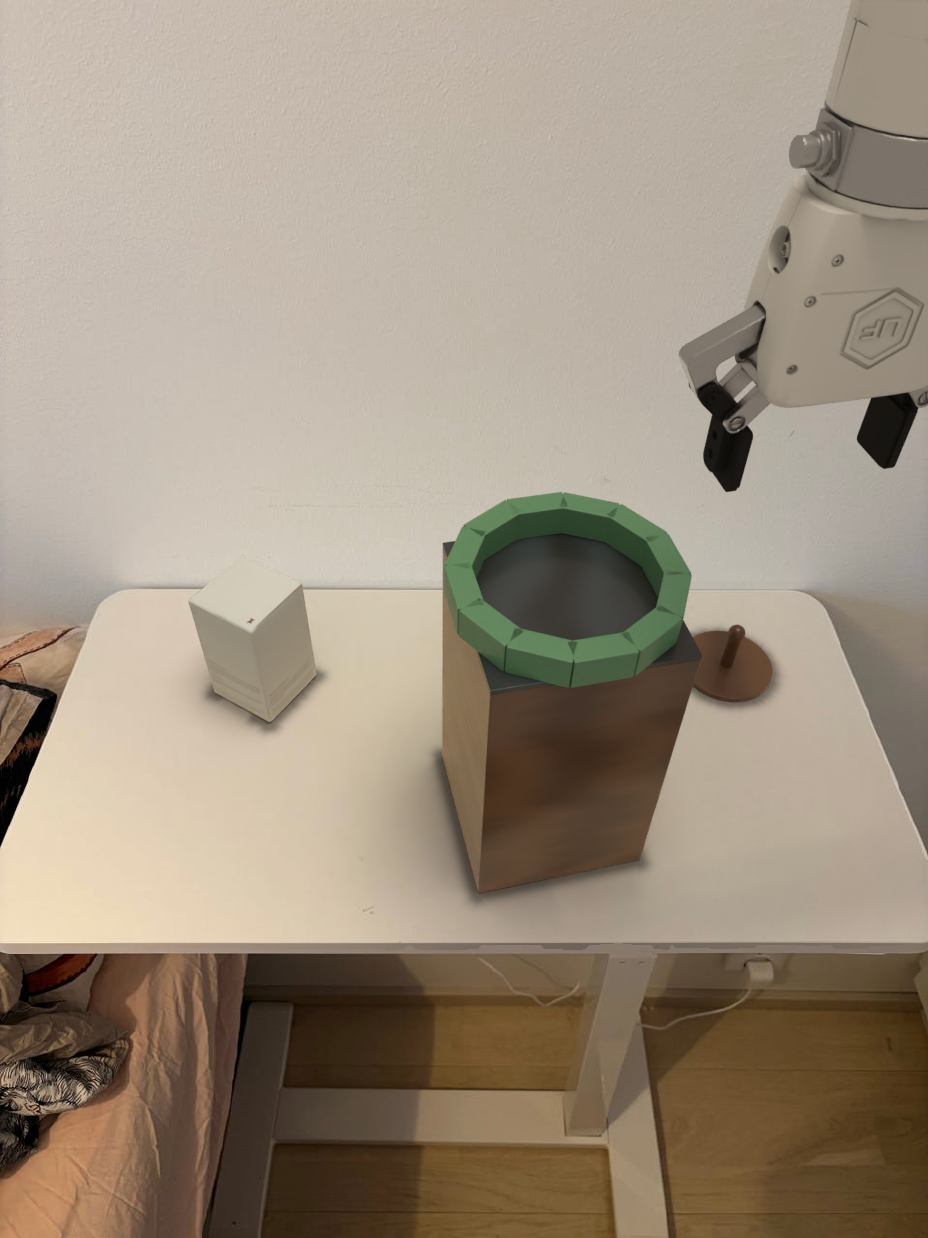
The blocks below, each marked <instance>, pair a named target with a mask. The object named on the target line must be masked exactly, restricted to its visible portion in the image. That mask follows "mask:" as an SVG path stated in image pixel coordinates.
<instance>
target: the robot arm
mask: <svg viewBox="0 0 928 1238" xmlns="http://www.w3.org/2000/svg"><path fill="white" fill-rule="evenodd" d="M831 72H832V73H831V76H830V80H829V83H828V87H827V91H826V95H825V100H824V103H823V107H822V108H820V110H819V113H818V117H817V121H816V125H815V128H814V130H812V131H809V133H808V134H798V135H795V136H794V137H793V139H792V141H791V142H790V146H789V151H788V160H789V164H790V166H791V167H792V168H793V169H795V170H797V169H805V170H806V172H805V174H803V175H798V176H796V177H794V178H793V180H792V182H791V184H790V186H789V188H788V189H787V192H786V194H785V196H784V198H783V200H782V202H781V204H780V206H779V209H778V211H777V214H776V216H775V218H774V220H773V223H772V225H771V227H770V230H769V232H768V235H767V238H766V241H765V242H764V245H763V248H762V251H761V254H760V256H759V260H758V262H757V265H756V268H755V271H754V274H753V277H752V280H751V283H750V285H749V290H748V291H747V292H748V293H747V296H746V298H745V303H744V306H743V310H742V312H739V314H737V315H735V316H733V317H731V318H730V319H728V320H725V322H722V323H721V324H718V325H717V326H715V327H714V328H712V329H710V330H708V331H706V332H705V333H703V334H701V335H699V336H698V337H696V338H694V339H692V340H691V341H689V342H687V343H685V344H684V345H683V346H682V347H681V348H680V349H679V351H678V358H679V362H680V364H681V367H682V369H683V372H684V374H685V378H686V379H687V382H688V388H689V389H690V390H691V391H692V393H693V394H694V396H695V397H696V398H697V400H698V401H699V403H700V404H701V406H703V407H704V408H705V409H706V410H707V411H708V412H709V414H711V416H710V417H711V418H710V422H709V425H708V430H707V435H706V439H705V443H704V447H703V452H702V459H703V463H704V465H705V467H706V469H707V470H708V471H709V473H712V474H713V476H714V477H715V479H716V480H717V482H718V483H719V485H720V486H721V488H722V490H724V492H725V493H731V492H736V491H737V490H738V489H739V488H740V487H741V483H742V479H743V477H744V473H745V469H746V466H747V462H748V458H749V454H750V451H751V448H752V444H753V440H754V432H753V430H752V429H751V428H750V427H749V424H750V423H752V422H753V421H754V420H755V419H756V418H757V417H758V416H759V415H760V414H761V413H762V412H763V411H764V410H765V409H766V408H768V406H769V405H770V404H771V405H773V406H775V407H779V408H787V409H789V408H790V409H792V408H804V407H812V406H820V405H829V404H836V403H844V402H851V401H859V400H865V399H867V400H868V399H870V400H869V402H868V405H867V407H866V410H865V414H864V416H863V419H862V421H861V424H860V427H859V429H858V432H857V435H856V441H857V443H858V444H859V446H860V447H861V448H862V449H863V450H864V451H865V452H866V453H867V454H868V456H869V457H870V458H871V459H872V460H873V461H874V462H875V463H876V465H877V466H878V467H880V468H881V469H882V470H888V469H893V468H895V467H896V465H897V462H898V460H899V458H900V456H901V452H902V451H903V448H904V446H905V444H906V441H907V439H908V436H909V434H910V432H911V429H912V427H913V424H914V422H915V419H916V417H917V414H918V412H919V411H918V410H919V409H924V408H926V407H928V0H850V4H849V8H848V11H847V16H846V19H845V23H844V27H843V30H842V35H841V38H840V42H839V45H838V49H837V52H836V57H835V60H834V64H833V68H832V71H831ZM732 357H733V358H734V361H735V363H736V364H735V365H734V366H733V367H732V368H731V369H729V371H727V373H726V374H724V376H722V378H721V379H720V380H718V376H717V369H718V368H719V366H720V365H721V364H722V363H724V362H725V361H727V360H729V359H731V358H732ZM752 382H753V383H754V384H755V385H754V386H753V387H752V388H751V389H750V390H749V391H748V392H747V393H746V394H744V395H743V397H742V398H741V399H740V400H739V401H736V400H735V398H736V397H738V395H739V394H740V393H742V391H744V390H745V388H747V387H748V385H749V384H751V383H752Z"/></svg>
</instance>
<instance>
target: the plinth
mask: <svg viewBox="0 0 928 1238" xmlns="http://www.w3.org/2000/svg"><path fill="white" fill-rule="evenodd" d="M455 541H456V540H451V541H444V542H442V652H441V653H442V656H441V657H442V658H441V659H442V661H441V662H442V671H441V672H442V677H441V679H442V685H441V687H442V689H441V690H442V691H441V693H442V694H441V696H442V697H441V698H442V699H441V701H442V702H441V704H442V705H441V706H442V707H441V708H442V709H441V710H442V711H441V712H442V713H441V716H442V718H441V719H442V721H441V723H442V724H441V725H442V729H441V730H442V731H441V734H442V735H441V736H442V737H441V743H442V744H441V755H442V760H443V763H444V768H445V771H446V776H447V779H448V783H449V786H450V790H451V794H452V799H453V802H454V806H455V811H456V814H457V818H458V821H459V825H460V828H461V833H462V836H463V840H464V845H465V848H466V851H467V856H468V858H469V863H470V867H471V871H472V875H473V879H474V883H475V887H476V890H477V893H478V894H481V893H486V892H492V891H496V890H502V889H505V888H510V887H516V886H521V885H525V884H526V885H527V884H530V883H536V882H539V881H545V880H549V879H555V878H559V877H564V876H569V875H574V874H579V873H583V872H588V871H593V870H598V869H603V868H607V867H612V866H616V865H618V866H619V865H623V864H628V863H633V862H636V861H640V860H641V857H642V854H643V850H644V847H645V844H646V841H647V837H648V835H649V831H650V828H651V825H652V821H653V817H654V815H655V811H656V808H657V805H658V801H659V798H660V795H661V791H662V788H663V785H664V781H665V778H666V775H667V773H668V768H669V766H670V762H671V758H672V756H673V752H674V749H675V746H676V743H677V740H678V736H679V733H680V730H681V727H682V723H683V720H684V717H685V713H686V710H687V707H688V703H689V700H690V697H691V694H692V691H693V687H694V686H693V684H694V681H695V678H696V674H697V671H698V668H699V664H700V661H701V659H702V653H701V652H700V650H699V648H698V646H697V644H696V642H695V640H694V639H693V637H694V636H693V635H692V633H691V632H690V631H691V630H690V629H689V627H688V625H687V624H686V621H685V620H684V619H683V622H682V626H681V629H680V633H679V637H678V640H677V642H676V644H675V645H674V646H672V647H671V648H670V649H669V650H667V651H666V652H665V653H664V654H662V655H661V656H660V657H659V658H657V659H656V660H655V661H654V662H652V663H651V664H650V665H649V666H647V667H646V668H645V669H644V670H642V671H641V672H640V673H639V674H637V675H636V676H633V677H631V678H626V679H620V680H614V681H608V682H602V683H597V684H591V685H585V686H579V687H573V688H571V686H569V688H567V687H563V686H559V685H555V684H551V683H546V682H542V681H538V680H534V679H530V678H526V677H521V676H517V675H513V674H509V673H505V670H504V671H501V670H500V669H499V668H498V667H496V666H495V665H494V664H493V663H491V662H490V661H489V660H488V659H486V658H485V657H484V656H483V655H481V654H480V653H479V652H478V651H477V650H475V649H474V648H473V647H472V646H470V645H469V644H468V643H467V642H465V641H464V640H463V639H462V638H460V637H459V634H457V632H456V629H455V625H454V622H453V619H452V616H451V612H450V609H449V606H448V603H447V600H446V596H445V593H444V564H445V562H446V560H447V558H448V556H449V553H450V551H451V549H452V547H453V545H454V543H455ZM476 580H477V583H478V586H479V588H480V591H481V594H482V597H483V600H484V601H485V602H486V603H488V604H489V605H490V606H491V607H493V608H494V609H495V610H497V611H498V612H499V613H501V614H502V615H503V616H505V617H506V618H507V619H509V620H510V621H511V622H513V623H514V624H515V625H517V626H518V627H519V628H520V629H525V630H529V631H533V632H538V633H542V634H546V635H551V636H555V637H559V638H564V639H568V640H572V641H573V640H579V639H585V638H591V637H598V636H604V635H610V634H616V633H622V632H624V631H626V630H627V629H628V628H630V627H631V626H632V625H633V624H635V623H636V622H637V621H639V620H640V619H641V618H643V617H644V616H645V615H647V614H648V613H649V612H651V611H652V610H653V609H655V608H656V604H657V600H658V597H657V595H656V593H655V591H654V589H653V587H652V586H651V584H650V582H649V580H648V578H647V576H646V574H645V572H644V571H643V569H642V567H641V566H640V565H639V564H637V563H636V562H634V561H633V560H631V559H630V558H628V557H627V556H625V555H623V554H622V553H620V552H619V551H617V550H616V549H614V548H613V547H611V546H610V545H608V544H607V543H605V542H601V541H596V540H591V539H586V538H582V537H577V536H572V535H567V534H563V533H560V534H553V535H546V536H539V537H532V538H525V539H518V540H515V541H514V542H512V543H511V544H509V545H508V546H506V547H504V548H503V549H501V550H500V551H498V552H497V553H495V554H493V555H492V556H490V557H489V558H487V559H485V560H484V562H483V564H482V566H481V569H480V571H479V573H478V576H477V578H476Z"/></svg>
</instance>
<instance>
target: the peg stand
mask: <svg viewBox="0 0 928 1238" xmlns="http://www.w3.org/2000/svg"><path fill="white" fill-rule="evenodd" d="M692 637H693V639H694V640H695V642H696V644H697V646H698V648H699V650H700V652H701V653H702V659H701V661H700V664H699V668H698V671H697V674H696V678H695V681H694V684H693V687H694V688H695V689H696V690H697V691H699V692H700V693H702V694H704V695H706V696H708V697H710V698H713V699H716V700H720V701H724V702H733V703H734V702H735V703H736V702H737V703H738V702H746V701H750V700H753V699H755V698H757V697H759V696H760V695H762V694H763V693H764V692H765V691H766V690H767V689H768V687H769V685H770V683H771V681H772V678H773V666H772V662H771V660H770V658H769V656H768V654H767V653H766V652H765V650H763V649H762V648H761V647H760V645H758V644H757V643H756V642H755V641H753V640H751V639H749V638H748V637H746V629H745V627H744V626H742V625H741V624H733V625H731V626H730V627H729V628H728V631H726V630H709V631H703V632H701V633H698V634H696V635H694V636H692Z"/></svg>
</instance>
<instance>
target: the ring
mask: <svg viewBox="0 0 928 1238" xmlns="http://www.w3.org/2000/svg"><path fill="white" fill-rule="evenodd" d="M560 533H563V534H567V535H572V536H577V537H582V538H586V539H591V540H596V541H601V542H605V543H607V544H608V545H610V546H611V547H613V548H614V549H616V550H617V551H619V552H620V553H622V554H623V555H625V556H627V557H628V558H630V559H631V560H633V561H634V562H636V563H637V564H639V565H640V566H641V567H642V569H643V571H644V572H645V574H646V576H647V578H648V580H649V582H650V584H651V586H652V587H653V589H654V591H655V593H656V595H657V597H658V600H657V604H656V608H655V609H653V610H652V611H651V612H649V613H648V614H647V615H645V616H644V617H643V618H641V619H640V620H639V621H637V622H636V623H635V624H633V625H632V626H631V627H630V628H628V629H627V630H626V631H624V632H622V633H616V634H610V635H604V636H598V637H591V638H585V639H579V640H573V641H572V640H568V639H564V638H559V637H555V636H551V635H546V634H542V633H538V632H533V631H529V630H525V629H520V628H519V627H518V626H517V625H515V624H514V623H513V622H511V621H510V620H509V619H507V618H506V617H505V616H503V615H502V614H501V613H499V612H498V611H497V610H495V609H494V608H493V607H491V606H490V605H489V604H488V603H486V602H485V601H484V600H483V597H482V594H481V591H480V588H479V586H478V583H477V580H476V578H477V576H478V573H479V571H480V569H481V566H482V564H483V562H484V560H485V559H487V558H489V557H490V556H492V555H493V554H495V553H497V552H498V551H500V550H501V549H503V548H504V547H506V546H508V545H509V544H511V543H512V542H514V541H515V540H518V539H525V538H532V537H539V536H546V535H553V534H560ZM454 541H455V543H454V545H453V547H452V549H451V551H450V553H449V556H448V558H447V560H446V562H445V564H444V593H445V596H446V600H447V603H448V606H449V609H450V612H451V616H452V619H453V622H454V625H455V629H456V632H457V634H459V637H460V638H462V639H463V640H464V641H465V642H467V643H468V644H469V645H470V646H472V647H473V648H474V649H475V650H477V651H478V652H479V653H480V654H481V655H483V656H484V657H485V658H486V659H488V660H489V661H490V662H491V663H493V664H494V665H495V666H496V667H498V668H499V669H500V670H501V671H504V670H505V673H509V674H513V675H517V676H521V677H526V678H530V679H534V680H538V681H542V682H546V683H551V684H555V685H559V686H563V687H567V688H569V686H571V688H573V687H579V686H585V685H591V684H597V683H602V682H608V681H614V680H620V679H626V678H631V677H633V676H636V675H637V674H639V673H640V672H641V671H642V670H644V669H645V668H646V667H647V666H649V665H650V664H651V663H652V662H654V661H655V660H656V659H657V658H659V657H660V656H661V655H662V654H664V653H665V652H666V651H667V650H669V649H670V648H671V647H672V646H674V645H675V644H676V642H677V640H678V637H679V633H680V629H681V626H682V622H683V620H684V618H685V612H686V608H687V603H688V597H689V593H690V587H691V582H692V577H693V576H692V575H693V574H692V572H691V570H690V568H689V566H688V564H687V563H686V562H685V559H684V558H683V556H682V554H681V552H680V551H679V549H678V547H677V546H676V544H675V543H674V540H673V539H672V537H671V535H670V533H668V531H666V530H665V529H663V528H661V526H659V525H657V524H655V523H654V522H652V521H650V520H649V519H647V518H645V517H644V516H642V515H641V514H639V513H637V512H636V511H634V510H632V509H631V508H629V507H628V506H626V505H624V504H623V503H621V504H620V503H619V502H617V501H616V502H614V501H610V500H605V499H600V498H595V497H590V496H585V495H582V494H581V495H580V494H575V493H571V492H565V491H564V492H562V491H557V492H549V493H543V494H535V495H528V496H522V497H519V496H518V497H513V498H507V499H504V500H502V501H500V502H499V503H497V504H496V505H494V506H492V507H491V508H489V509H487V510H485V511H484V512H482V513H481V514H479V515H476V517H474V518H472V519H470V520H469V521H468V522H466V523H464V524H463V526H461V528H460V530H459V532H458V534H457V537H456V539H455V540H454Z"/></svg>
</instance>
